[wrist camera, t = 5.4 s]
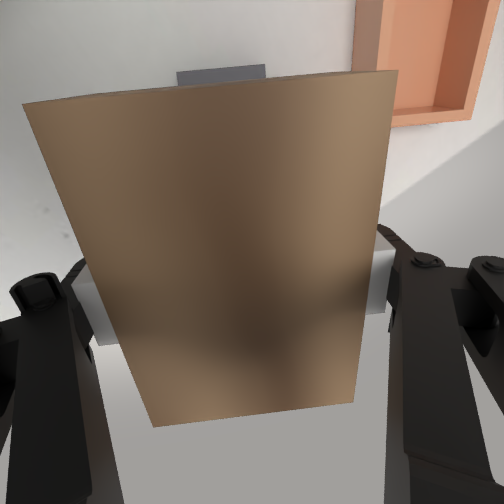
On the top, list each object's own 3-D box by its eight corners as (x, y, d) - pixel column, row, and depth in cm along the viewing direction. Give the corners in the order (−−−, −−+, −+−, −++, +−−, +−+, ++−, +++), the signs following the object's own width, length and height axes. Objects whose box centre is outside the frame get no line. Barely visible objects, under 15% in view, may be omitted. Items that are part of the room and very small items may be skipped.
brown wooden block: (170, 343, 18) (153, 427, 14) (96, 93, 12) (21, 104, 7) (322, 325, 18) (353, 402, 14) (334, 72, 12) (398, 69, 8)
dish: (347, 121, 28) (370, 129, 24) (358, -38, 23) (390, -66, 19) (433, 113, 29) (470, 119, 24) (464, -47, 23) (519, -76, 19)
